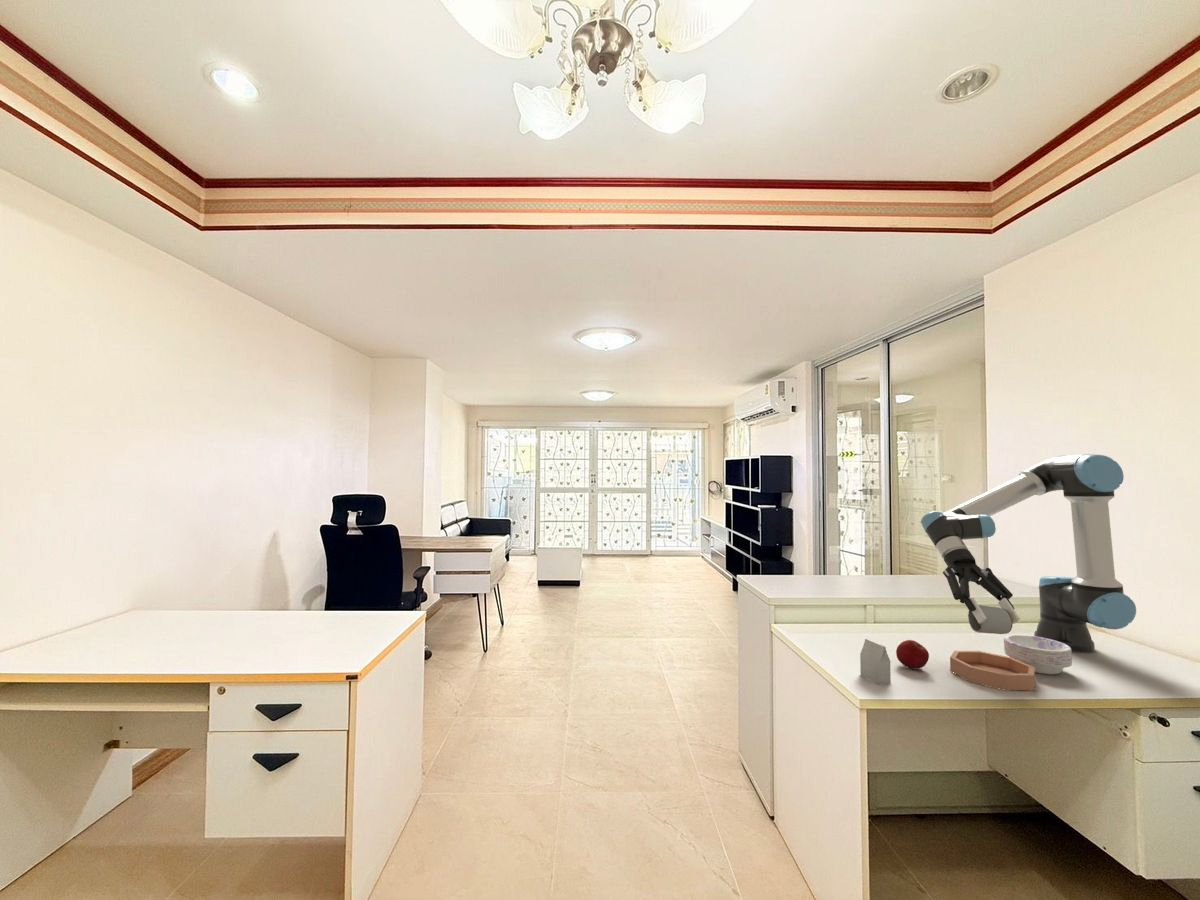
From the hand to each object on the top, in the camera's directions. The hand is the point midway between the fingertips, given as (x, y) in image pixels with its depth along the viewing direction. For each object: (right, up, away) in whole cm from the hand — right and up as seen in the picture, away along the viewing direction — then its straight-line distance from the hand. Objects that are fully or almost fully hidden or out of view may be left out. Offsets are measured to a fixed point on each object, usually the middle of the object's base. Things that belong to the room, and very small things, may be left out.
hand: (999, 621), depth 138 cm
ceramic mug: (0, -5, +4) cm, 7 cm away
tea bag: (-35, -16, -1) cm, 39 cm away
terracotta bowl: (0, -17, +2) cm, 17 cm away
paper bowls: (+18, -18, +9) cm, 27 cm away
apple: (-20, -17, +8) cm, 27 cm away
